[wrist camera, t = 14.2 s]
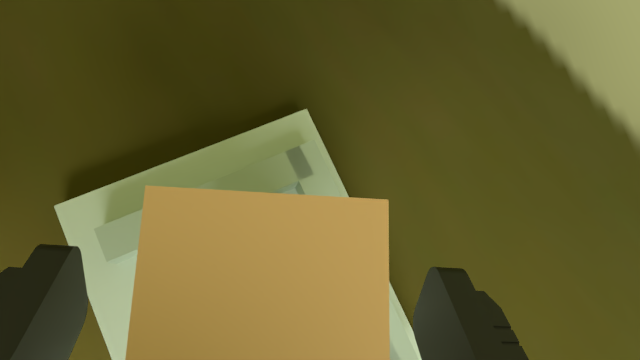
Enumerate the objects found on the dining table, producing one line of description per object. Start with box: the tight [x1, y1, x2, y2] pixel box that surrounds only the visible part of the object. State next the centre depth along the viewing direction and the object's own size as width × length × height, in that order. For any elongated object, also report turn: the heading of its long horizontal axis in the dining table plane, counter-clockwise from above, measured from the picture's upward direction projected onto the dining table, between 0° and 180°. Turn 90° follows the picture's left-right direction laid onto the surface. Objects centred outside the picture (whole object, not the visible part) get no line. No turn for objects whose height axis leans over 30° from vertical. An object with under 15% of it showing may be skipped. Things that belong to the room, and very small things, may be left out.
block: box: [125, 185, 390, 360], centre depth 12 cm, size 4×4×11 cm
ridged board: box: [54, 109, 422, 360], centre depth 17 cm, size 12×10×2 cm
